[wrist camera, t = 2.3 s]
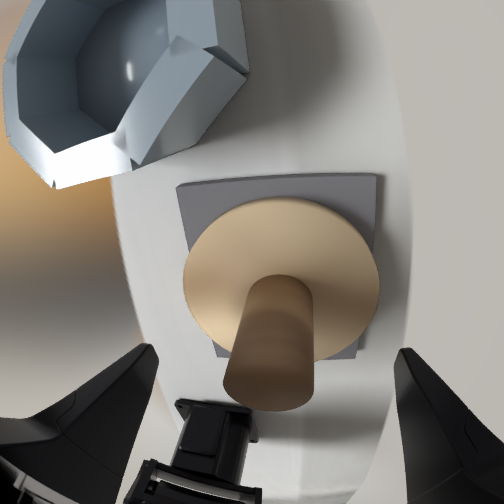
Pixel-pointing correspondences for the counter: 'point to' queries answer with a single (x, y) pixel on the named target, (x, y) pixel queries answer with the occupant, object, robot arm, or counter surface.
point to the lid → (280, 295)
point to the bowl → (118, 82)
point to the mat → (296, 185)
